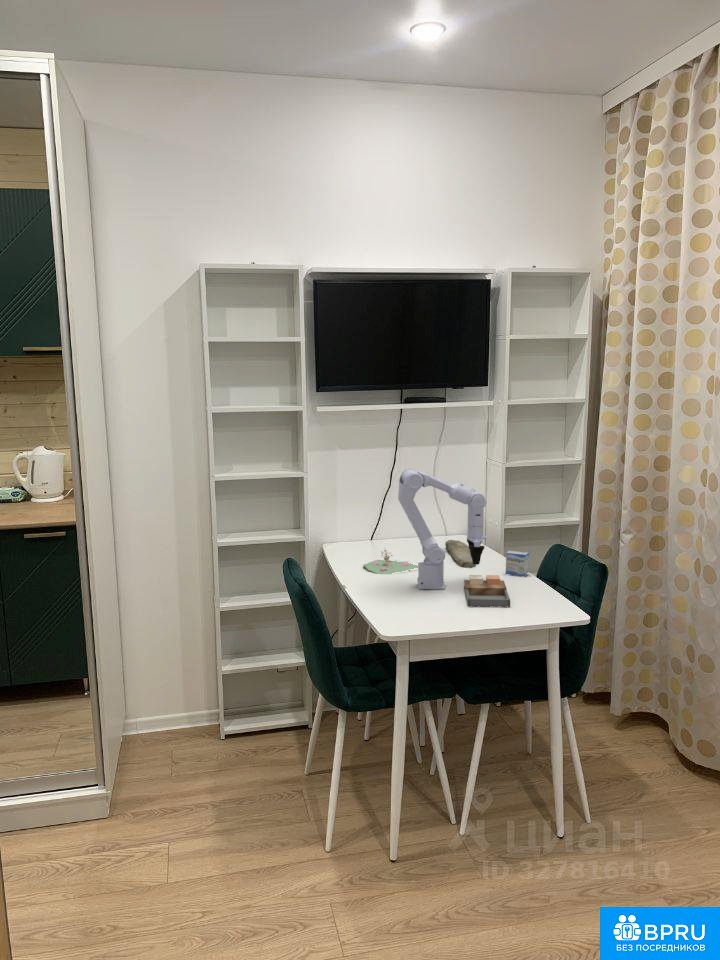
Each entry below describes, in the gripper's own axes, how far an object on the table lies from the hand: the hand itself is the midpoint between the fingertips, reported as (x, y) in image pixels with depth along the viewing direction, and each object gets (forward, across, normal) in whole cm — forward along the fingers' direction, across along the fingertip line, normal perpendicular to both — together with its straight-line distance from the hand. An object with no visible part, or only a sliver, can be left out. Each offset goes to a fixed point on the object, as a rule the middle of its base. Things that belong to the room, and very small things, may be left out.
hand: (475, 561), depth 273 cm
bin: (+8, -20, -2) cm, 22 cm away
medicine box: (+9, +12, -17) cm, 23 cm away
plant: (+9, +22, +30) cm, 38 cm away
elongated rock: (+9, +38, +3) cm, 39 cm away
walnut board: (+8, -10, -3) cm, 14 cm away
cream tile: (+5, -8, 0) cm, 10 cm away
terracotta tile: (+5, -8, -6) cm, 11 cm away
